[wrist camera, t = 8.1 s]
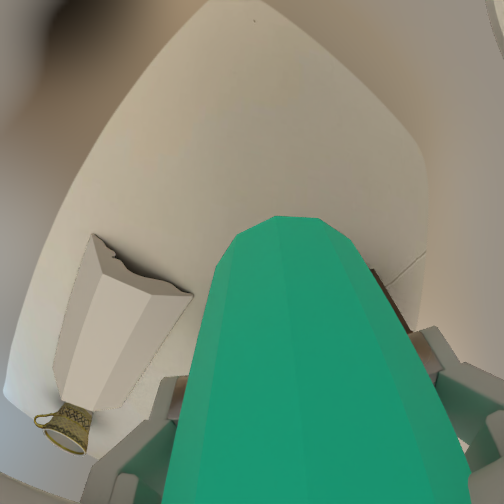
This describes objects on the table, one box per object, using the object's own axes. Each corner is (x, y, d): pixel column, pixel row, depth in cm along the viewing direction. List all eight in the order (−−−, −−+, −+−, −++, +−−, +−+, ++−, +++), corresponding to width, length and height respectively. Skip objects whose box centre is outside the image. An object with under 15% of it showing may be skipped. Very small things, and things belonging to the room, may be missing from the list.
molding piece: (104, 365, 57) (120, 407, 51) (52, 367, 48) (65, 414, 42) (165, 245, 45) (193, 296, 39) (91, 234, 36) (108, 293, 30)
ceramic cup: (101, 408, 53) (86, 446, 44) (98, 427, 57) (85, 461, 47) (48, 380, 50) (28, 414, 41) (49, 402, 54) (33, 433, 45)
